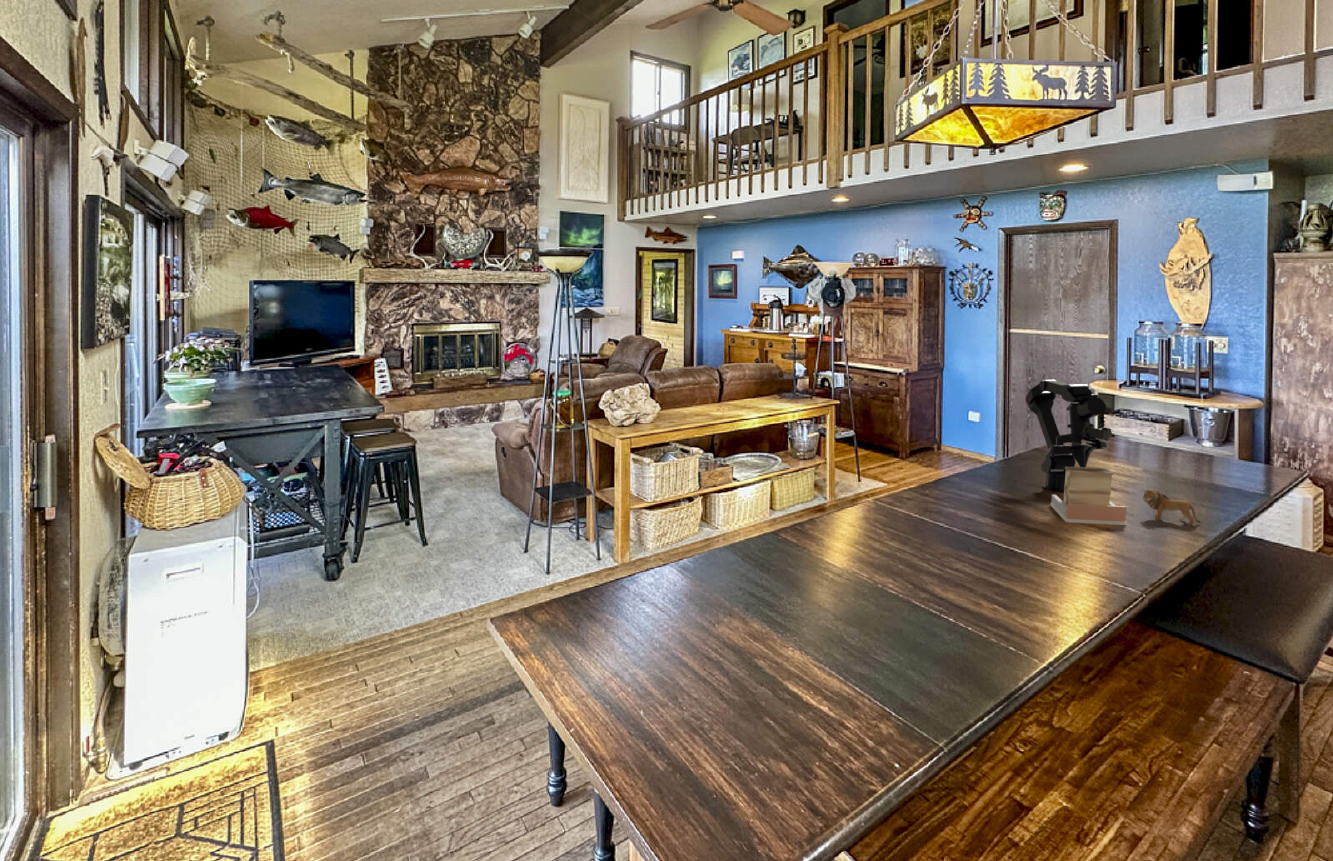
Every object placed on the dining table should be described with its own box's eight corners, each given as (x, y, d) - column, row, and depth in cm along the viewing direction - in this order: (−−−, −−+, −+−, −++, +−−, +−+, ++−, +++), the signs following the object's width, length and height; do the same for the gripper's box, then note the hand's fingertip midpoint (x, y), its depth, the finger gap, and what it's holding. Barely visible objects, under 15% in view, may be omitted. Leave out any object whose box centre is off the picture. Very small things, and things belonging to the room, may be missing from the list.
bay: (1050, 504, 227) (1051, 488, 226) (1105, 507, 223) (1106, 490, 222) (1066, 522, 209) (1067, 504, 208) (1126, 525, 205) (1128, 507, 204)
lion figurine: (1140, 518, 211) (1142, 490, 209) (1141, 514, 215) (1144, 486, 213) (1200, 527, 202) (1204, 497, 200) (1201, 522, 206) (1204, 493, 204)
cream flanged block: (1062, 506, 222) (1065, 466, 219) (1102, 507, 219) (1105, 467, 216) (1067, 511, 216) (1071, 471, 213) (1109, 513, 212) (1113, 472, 210)
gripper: (1088, 413, 217) (1091, 462, 214) (1121, 421, 226) (1125, 468, 223) (1053, 418, 226) (1056, 466, 223) (1086, 426, 235) (1090, 472, 232)
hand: (1083, 468), depth 225 cm, fingers closed
